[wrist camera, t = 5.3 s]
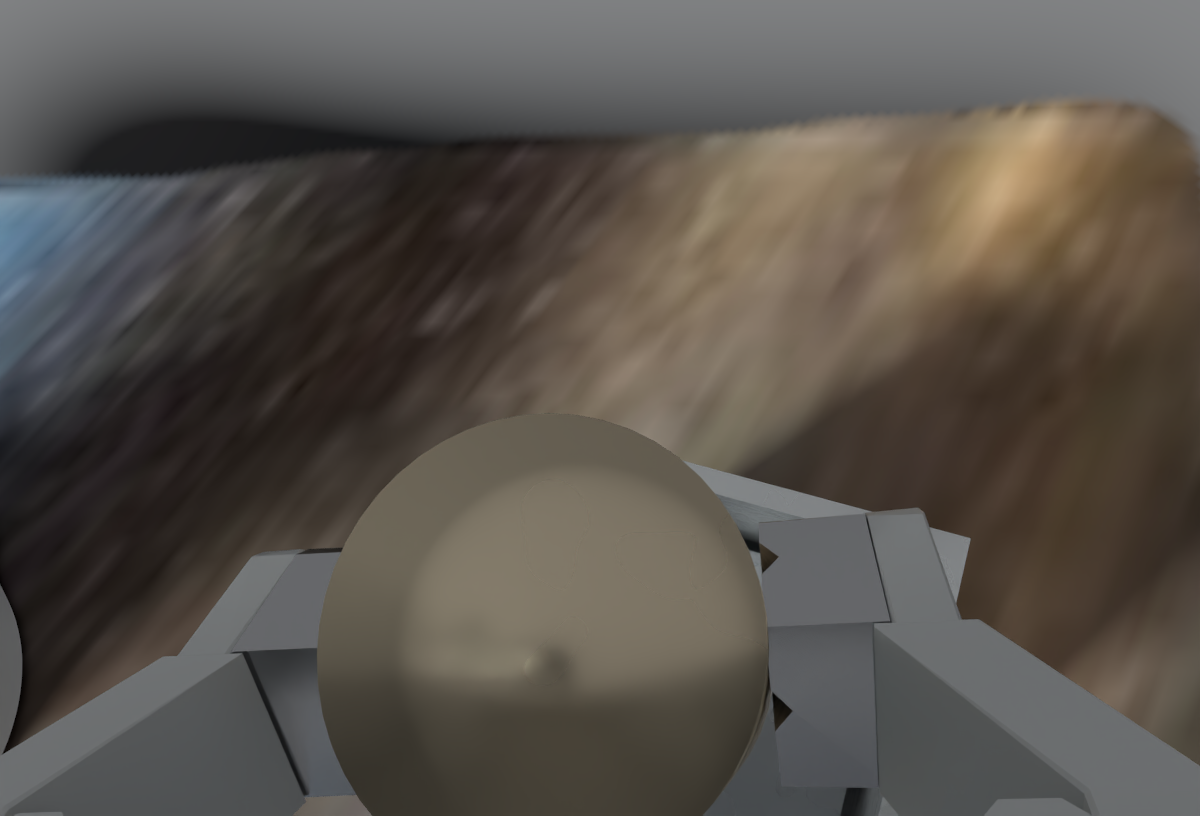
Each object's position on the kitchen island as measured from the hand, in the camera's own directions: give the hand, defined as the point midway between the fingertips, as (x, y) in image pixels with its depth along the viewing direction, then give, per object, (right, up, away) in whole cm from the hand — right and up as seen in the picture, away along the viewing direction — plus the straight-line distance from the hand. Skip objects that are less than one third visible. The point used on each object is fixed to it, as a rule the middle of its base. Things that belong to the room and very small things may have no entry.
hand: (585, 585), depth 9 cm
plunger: (+4, -7, +19) cm, 20 cm away
